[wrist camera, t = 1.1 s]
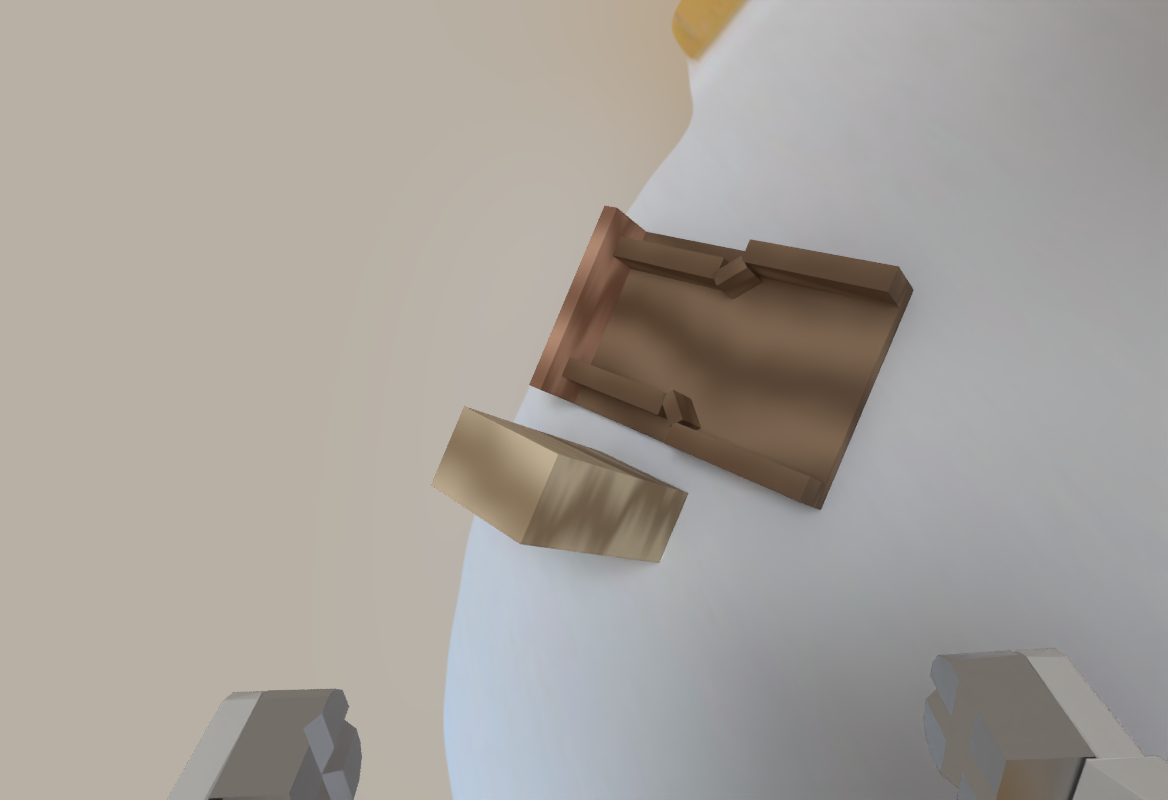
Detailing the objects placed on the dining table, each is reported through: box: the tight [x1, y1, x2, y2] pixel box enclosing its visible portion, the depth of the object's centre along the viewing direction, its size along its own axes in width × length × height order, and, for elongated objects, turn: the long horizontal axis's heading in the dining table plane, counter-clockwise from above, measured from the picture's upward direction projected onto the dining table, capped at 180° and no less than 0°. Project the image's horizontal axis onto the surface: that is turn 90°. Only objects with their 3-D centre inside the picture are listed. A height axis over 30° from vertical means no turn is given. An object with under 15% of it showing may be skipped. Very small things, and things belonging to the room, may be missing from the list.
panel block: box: [431, 407, 688, 563], centre depth 44 cm, size 5×8×14 cm, turn 63°
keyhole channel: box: [529, 206, 913, 510], centre depth 47 cm, size 14×21×5 cm, turn 63°
